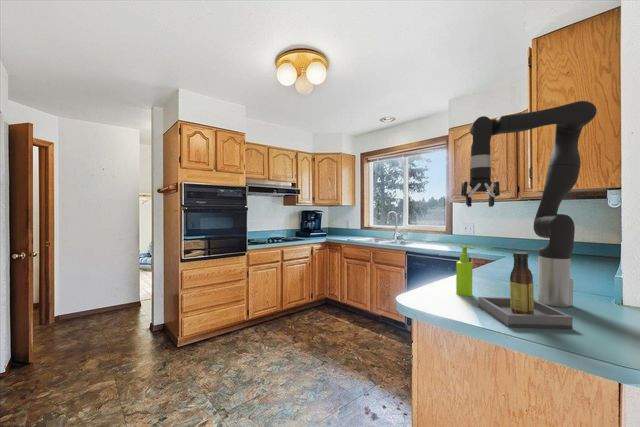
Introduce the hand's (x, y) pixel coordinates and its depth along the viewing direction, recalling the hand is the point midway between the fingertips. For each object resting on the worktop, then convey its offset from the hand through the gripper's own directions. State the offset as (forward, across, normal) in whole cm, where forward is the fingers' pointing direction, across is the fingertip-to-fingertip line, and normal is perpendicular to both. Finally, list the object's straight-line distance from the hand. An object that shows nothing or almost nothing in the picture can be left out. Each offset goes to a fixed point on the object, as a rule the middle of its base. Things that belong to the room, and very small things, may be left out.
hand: (480, 206), depth 117 cm
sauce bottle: (+35, -1, +25) cm, 43 cm away
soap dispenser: (+36, +6, +1) cm, 37 cm away
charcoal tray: (+36, -1, +25) cm, 44 cm away
